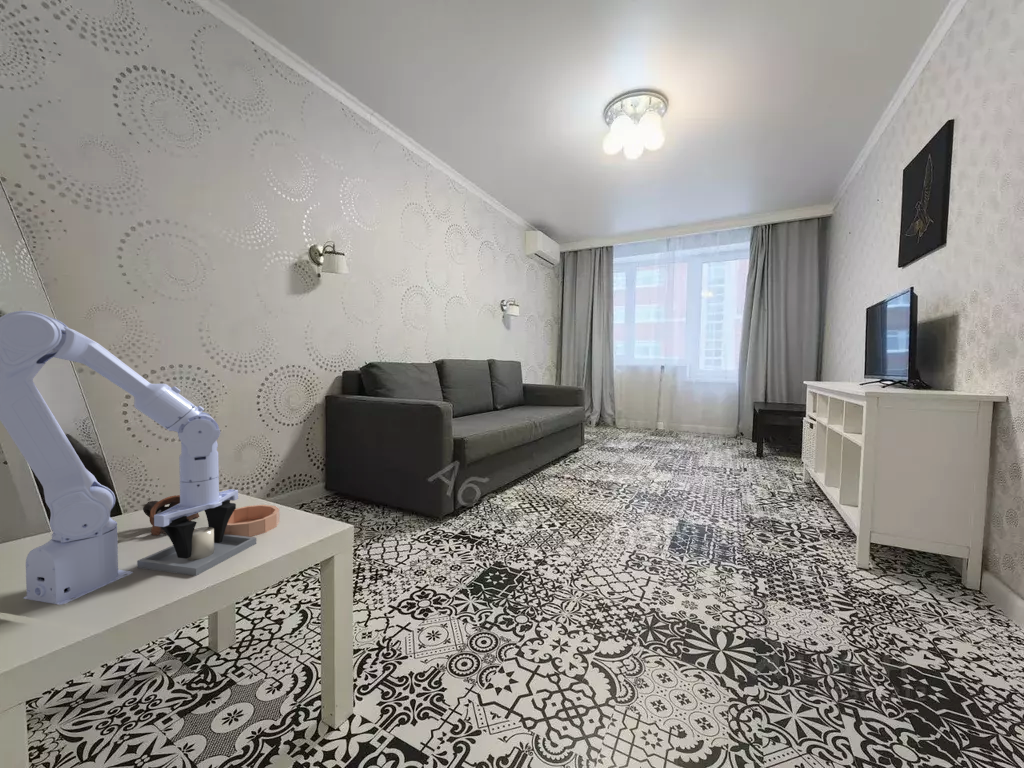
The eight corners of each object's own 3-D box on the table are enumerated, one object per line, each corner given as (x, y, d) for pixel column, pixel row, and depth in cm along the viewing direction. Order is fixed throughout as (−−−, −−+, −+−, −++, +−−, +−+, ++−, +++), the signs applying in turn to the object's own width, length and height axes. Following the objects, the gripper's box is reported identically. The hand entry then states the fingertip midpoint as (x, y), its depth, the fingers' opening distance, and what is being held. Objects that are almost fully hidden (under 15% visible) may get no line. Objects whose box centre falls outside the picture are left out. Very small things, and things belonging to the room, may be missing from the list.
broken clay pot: (213, 520, 92) (210, 496, 88) (180, 555, 84) (175, 529, 80) (162, 507, 92) (156, 482, 88) (124, 541, 84) (115, 515, 80)
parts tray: (196, 579, 66) (196, 568, 66) (137, 570, 69) (137, 560, 69) (256, 546, 79) (256, 537, 79) (204, 540, 81) (204, 531, 81)
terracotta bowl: (248, 544, 80) (248, 527, 79) (200, 538, 82) (200, 521, 82) (290, 522, 91) (290, 507, 91) (247, 517, 93) (247, 503, 93)
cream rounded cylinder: (199, 560, 71) (199, 536, 71) (181, 558, 72) (180, 534, 72) (219, 550, 75) (219, 527, 75) (202, 548, 76) (201, 525, 76)
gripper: (177, 491, 65) (179, 571, 66) (250, 469, 79) (251, 535, 80) (143, 488, 66) (145, 566, 67) (221, 467, 81) (222, 531, 81)
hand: (200, 549), depth 74 cm, fingers open, 6 cm apart
